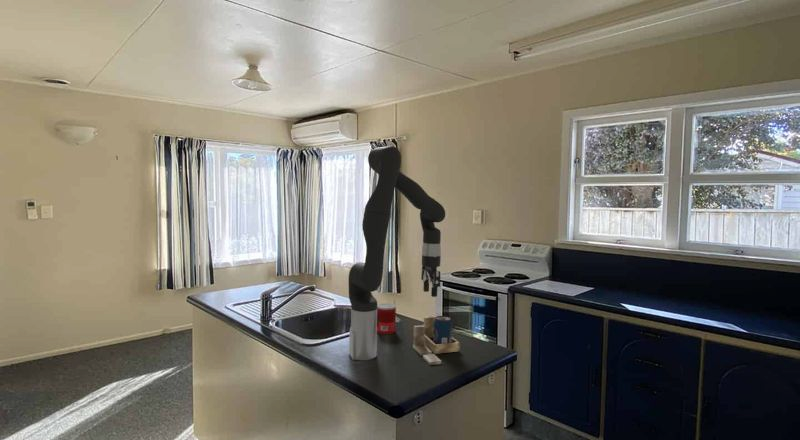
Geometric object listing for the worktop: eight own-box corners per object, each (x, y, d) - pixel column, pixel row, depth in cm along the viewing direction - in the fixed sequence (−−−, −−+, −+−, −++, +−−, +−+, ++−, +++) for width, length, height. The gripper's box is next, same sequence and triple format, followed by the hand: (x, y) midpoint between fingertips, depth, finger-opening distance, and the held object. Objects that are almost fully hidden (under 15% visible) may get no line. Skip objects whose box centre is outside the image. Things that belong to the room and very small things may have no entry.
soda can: (431, 346, 160) (432, 315, 159) (449, 345, 161) (450, 315, 160) (434, 353, 153) (435, 320, 152) (453, 352, 154) (454, 320, 153)
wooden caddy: (434, 353, 151) (435, 331, 151) (417, 337, 168) (418, 317, 167) (459, 351, 154) (460, 329, 154) (440, 335, 171) (441, 315, 170)
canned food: (398, 332, 175) (399, 306, 174) (382, 335, 170) (383, 309, 169) (388, 327, 181) (389, 302, 180) (373, 330, 176) (373, 304, 176)
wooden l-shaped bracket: (429, 365, 142) (430, 341, 142) (412, 347, 158) (413, 326, 158) (441, 363, 143) (441, 340, 143) (423, 346, 160) (423, 325, 159)
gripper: (416, 251, 173) (415, 290, 174) (429, 257, 159) (428, 298, 160) (433, 251, 175) (431, 289, 176) (447, 256, 162) (445, 297, 163)
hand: (430, 294), depth 168 cm, fingers open, 8 cm apart
